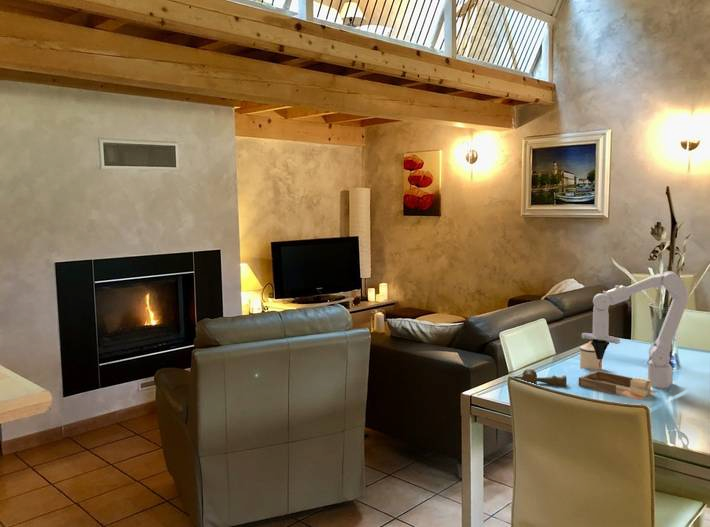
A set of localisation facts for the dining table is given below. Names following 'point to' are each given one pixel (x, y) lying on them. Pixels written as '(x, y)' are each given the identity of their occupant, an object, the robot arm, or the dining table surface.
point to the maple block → (640, 386)
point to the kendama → (531, 377)
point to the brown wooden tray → (609, 383)
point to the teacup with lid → (589, 357)
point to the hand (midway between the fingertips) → (599, 359)
